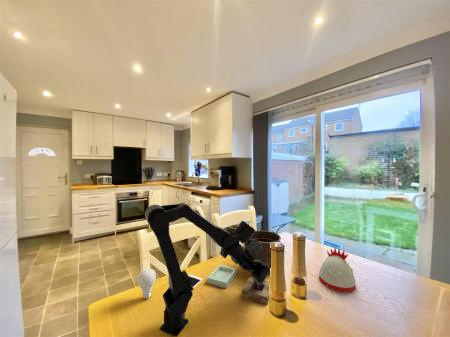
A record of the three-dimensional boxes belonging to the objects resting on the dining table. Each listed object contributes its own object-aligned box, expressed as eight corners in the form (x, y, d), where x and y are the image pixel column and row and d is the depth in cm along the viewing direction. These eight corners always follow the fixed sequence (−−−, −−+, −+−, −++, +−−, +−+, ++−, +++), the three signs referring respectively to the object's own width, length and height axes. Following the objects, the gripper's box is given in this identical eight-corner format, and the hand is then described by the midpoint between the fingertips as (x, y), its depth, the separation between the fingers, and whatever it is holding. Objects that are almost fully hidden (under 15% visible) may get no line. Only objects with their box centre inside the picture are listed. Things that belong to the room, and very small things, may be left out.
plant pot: (275, 280, 86) (275, 244, 86) (242, 270, 94) (242, 237, 94) (284, 264, 100) (284, 233, 100) (254, 257, 108) (254, 228, 108)
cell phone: (163, 295, 76) (163, 294, 76) (189, 275, 90) (189, 274, 90) (179, 302, 73) (179, 300, 73) (203, 280, 87) (203, 278, 87)
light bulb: (150, 290, 79) (150, 263, 79) (159, 297, 75) (159, 269, 75) (134, 298, 74) (134, 270, 74) (142, 306, 70) (142, 276, 69)
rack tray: (226, 288, 80) (226, 282, 80) (207, 283, 84) (207, 277, 84) (236, 273, 91) (236, 268, 91) (219, 269, 95) (219, 264, 95)
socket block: (267, 304, 71) (267, 297, 71) (241, 296, 75) (241, 290, 75) (272, 288, 80) (272, 282, 80) (249, 282, 84) (249, 276, 84)
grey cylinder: (260, 295, 75) (261, 265, 75) (251, 292, 77) (252, 262, 77) (263, 290, 79) (263, 260, 79) (254, 287, 80) (254, 258, 80)
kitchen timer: (354, 296, 76) (354, 258, 76) (316, 283, 84) (316, 249, 84) (356, 280, 87) (356, 246, 87) (322, 269, 95) (323, 239, 95)
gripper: (266, 243, 68) (288, 267, 73) (237, 228, 84) (256, 248, 89) (248, 272, 64) (272, 294, 69) (221, 250, 80) (242, 270, 85)
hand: (260, 274), depth 78 cm, fingers closed on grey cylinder, 4 cm apart
